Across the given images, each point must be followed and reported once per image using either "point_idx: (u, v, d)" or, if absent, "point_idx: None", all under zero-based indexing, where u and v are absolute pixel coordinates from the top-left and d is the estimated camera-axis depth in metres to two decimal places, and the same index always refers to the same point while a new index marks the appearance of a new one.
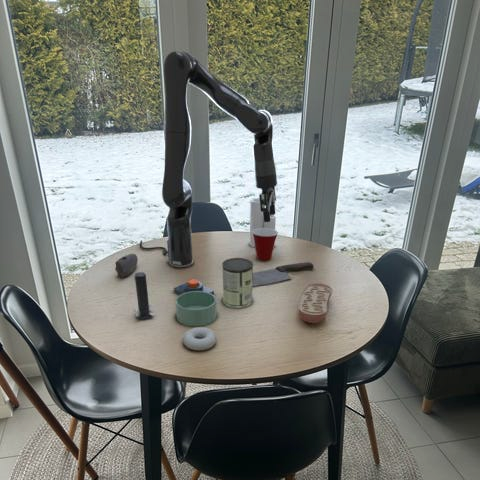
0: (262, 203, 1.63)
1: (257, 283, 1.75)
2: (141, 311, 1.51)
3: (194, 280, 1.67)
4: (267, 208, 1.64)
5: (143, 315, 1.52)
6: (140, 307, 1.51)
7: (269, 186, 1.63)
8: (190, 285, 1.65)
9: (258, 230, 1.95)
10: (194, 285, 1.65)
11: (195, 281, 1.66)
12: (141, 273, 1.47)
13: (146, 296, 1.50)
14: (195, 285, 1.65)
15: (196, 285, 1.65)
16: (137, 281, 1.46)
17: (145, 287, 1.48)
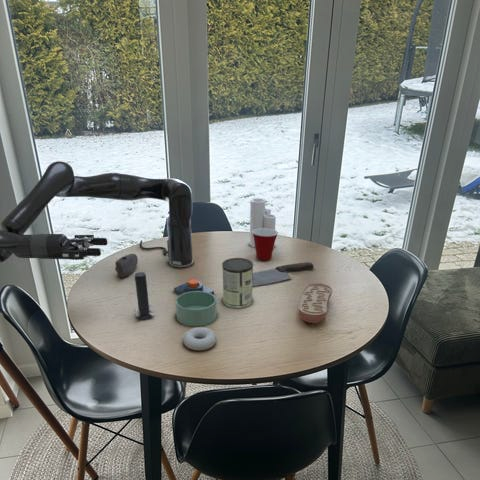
0: (72, 256, 1.36)
1: (257, 283, 1.75)
2: (141, 311, 1.51)
3: (194, 280, 1.67)
4: (78, 251, 1.35)
5: (143, 315, 1.52)
6: (140, 307, 1.51)
7: (58, 244, 1.38)
8: (190, 285, 1.65)
9: (258, 230, 1.95)
10: (194, 285, 1.65)
11: (195, 281, 1.66)
12: (141, 273, 1.47)
13: (146, 296, 1.50)
14: (195, 285, 1.65)
15: (196, 285, 1.65)
16: (137, 281, 1.46)
17: (145, 287, 1.48)
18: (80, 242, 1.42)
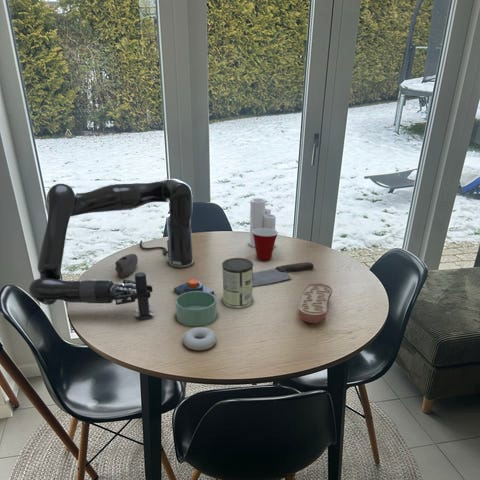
0: (125, 300, 1.45)
1: (257, 283, 1.75)
2: (141, 311, 1.51)
3: (194, 280, 1.67)
4: (131, 294, 1.45)
5: (143, 315, 1.52)
6: (140, 307, 1.51)
7: (106, 291, 1.46)
8: (190, 285, 1.65)
9: (258, 230, 1.95)
10: (194, 285, 1.65)
11: (195, 281, 1.66)
12: (141, 273, 1.47)
13: None
14: (195, 285, 1.65)
15: (196, 285, 1.65)
16: (137, 281, 1.46)
17: (145, 287, 1.48)
18: (125, 287, 1.50)
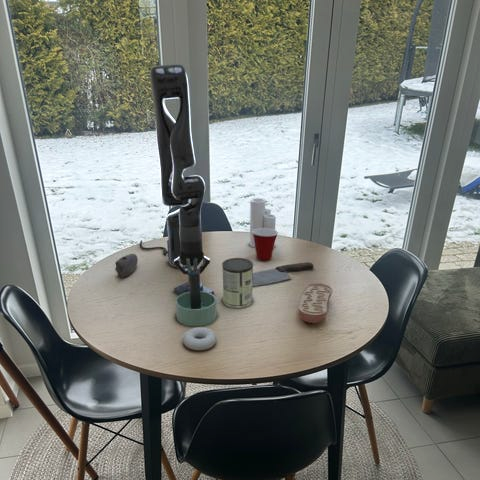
0: None
1: (257, 283, 1.75)
2: None
3: None
4: None
5: None
6: (193, 305, 1.51)
7: None
8: None
9: (258, 230, 1.95)
10: None
11: None
12: (195, 271, 1.47)
13: (199, 294, 1.49)
14: None
15: None
16: (191, 279, 1.46)
17: (199, 285, 1.48)
18: None
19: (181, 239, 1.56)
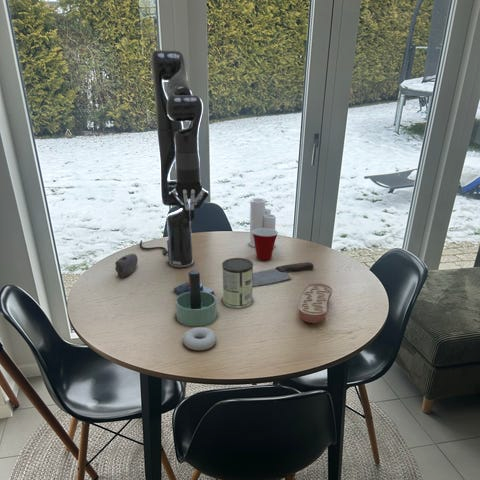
0: None
1: (257, 283, 1.75)
2: None
3: None
4: None
5: None
6: (193, 305, 1.51)
7: None
8: None
9: (258, 230, 1.95)
10: None
11: None
12: (195, 271, 1.47)
13: (199, 294, 1.49)
14: None
15: None
16: (191, 279, 1.46)
17: (199, 285, 1.48)
18: None
19: (177, 167, 1.44)
